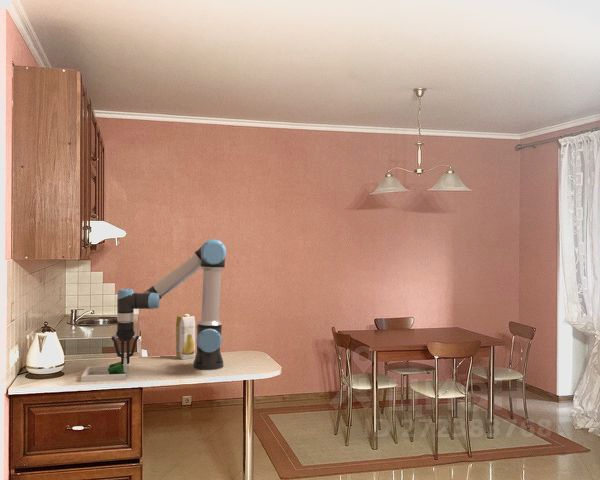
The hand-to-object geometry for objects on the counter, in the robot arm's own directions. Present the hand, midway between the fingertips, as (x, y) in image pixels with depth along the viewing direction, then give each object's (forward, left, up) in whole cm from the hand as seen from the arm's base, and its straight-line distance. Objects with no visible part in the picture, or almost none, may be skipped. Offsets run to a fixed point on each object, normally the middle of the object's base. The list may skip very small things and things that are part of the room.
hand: (125, 370), depth 295 cm
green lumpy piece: (+4, 0, -2) cm, 5 cm away
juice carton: (-29, -36, -2) cm, 46 cm away
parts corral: (+8, -1, -2) cm, 8 cm away
